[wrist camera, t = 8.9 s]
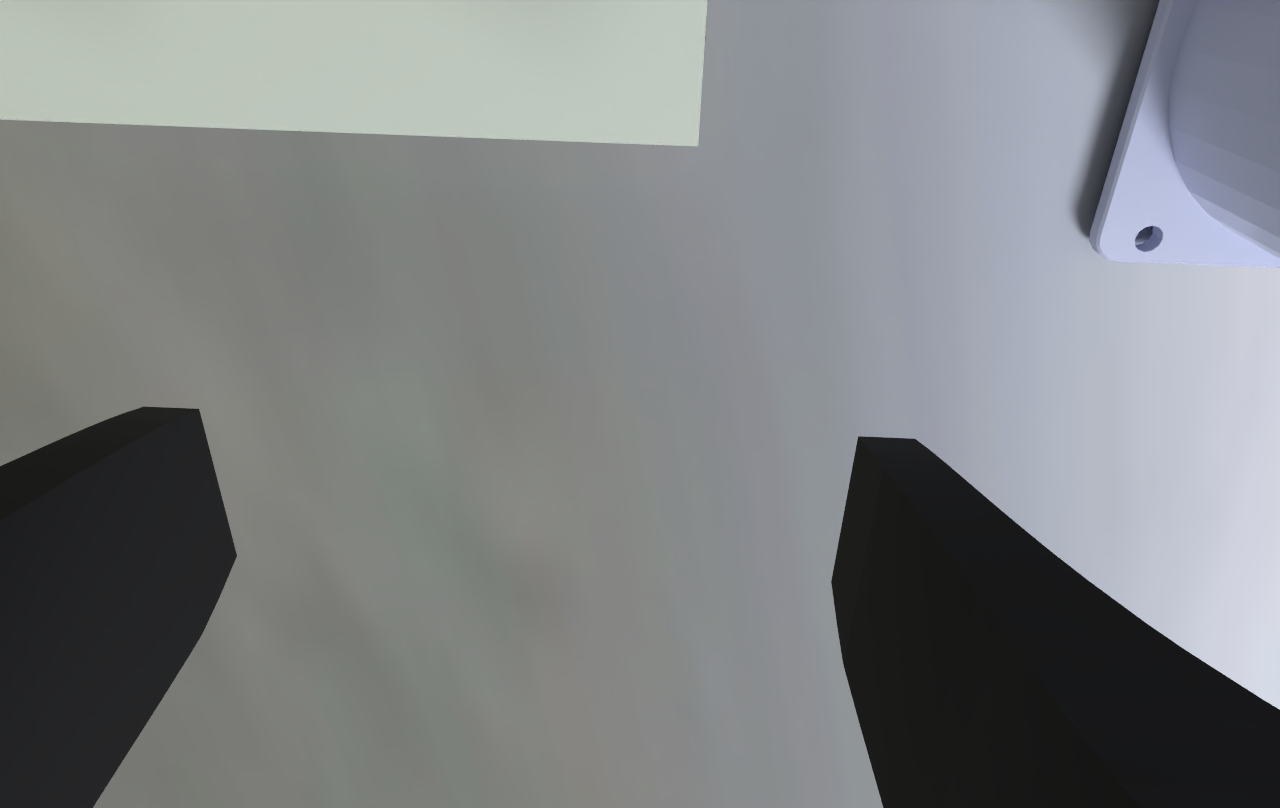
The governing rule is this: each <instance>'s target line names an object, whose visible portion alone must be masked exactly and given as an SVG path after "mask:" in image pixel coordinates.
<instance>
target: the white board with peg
mask: <svg viewBox="0 0 1280 808" xmlns="http://www.w3.org/2000/svg"><path fill="white" fill-rule="evenodd" d="M706 12H707V0H0V119H3V120H29V121H55V122H80V123H106V124H132V125H158V126H184V127H210V128H236V129H262V130H288V131H314V132H340V133H366V134H392V135H418V136H444V137H470V138H496V139H522V140H548V141H574V142H600V143H626V144H652V145H678V146H698V138H699V122H700V106H701V91H702V75H703V59H704V44H705V28H706Z"/></svg>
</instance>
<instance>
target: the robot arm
mask: <svg viewBox="0 0 1280 808" xmlns="http://www.w3.org/2000/svg"><path fill="white" fill-rule="evenodd" d="M1149 226H1153V233H1152V235H1151V236H1150V238H1149V239H1148V240H1147V241H1146V242H1144V243H1143V244H1139V245H1135V238H1136V236H1137V235H1138V233H1139V232H1140V231H1141V230H1142V229H1144V228H1145V227H1149ZM1090 243H1091V246H1092V248H1093V249H1094V250H1095V251H1096V252H1097V253H1099V254H1100V255H1101V256H1102V257H1104V258H1105V259H1108V260H1112V261H1124V262H1149V263H1175V264H1200V265H1225V266H1250V267H1276V268H1280V0H1160V1H1159V5H1158V8H1157V11H1156V15H1155V18H1154V21H1153V25H1152V28H1151V31H1150V35H1149V38H1148V41H1147V45H1146V48H1145V51H1144V55H1143V58H1142V61H1141V65H1140V68H1139V71H1138V75H1137V78H1136V81H1135V85H1134V88H1133V91H1132V95H1131V98H1130V101H1129V105H1128V108H1127V111H1126V115H1125V118H1124V121H1123V124H1122V128H1121V131H1120V134H1119V138H1118V141H1117V144H1116V148H1115V151H1114V154H1113V158H1112V161H1111V164H1110V168H1109V171H1108V174H1107V178H1106V181H1105V184H1104V188H1103V191H1102V194H1101V198H1100V201H1099V204H1098V208H1097V211H1096V214H1095V218H1094V221H1093V224H1092V228H1091V231H1090ZM236 557H237V554H236V551H235V547H234V543H233V539H232V535H231V531H230V527H229V523H228V520H227V516H226V512H225V508H224V504H223V500H222V496H221V492H220V489H219V485H218V481H217V477H216V473H215V469H214V465H213V461H212V458H211V454H210V450H209V446H208V442H207V438H206V434H205V430H204V427H203V423H202V419H201V415H200V411H199V409H186V408H162V407H142V408H139V409H136V410H133V411H129V412H126V413H123V414H121V415H118V416H115V417H113V418H110V419H107V420H105V421H102V422H100V423H97V424H95V425H93V426H90V427H88V428H85V429H83V430H81V431H78V432H76V433H74V434H71V435H69V436H67V437H65V438H62V439H60V440H58V441H56V442H53V443H51V444H49V445H47V446H44V447H42V448H40V449H38V450H35V451H33V452H31V453H29V454H27V455H24V456H22V457H20V458H18V459H16V460H13V461H11V462H9V463H7V464H5V465H2V466H0V808H93V806H94V805H95V803H96V802H97V800H98V798H99V797H100V795H101V794H102V792H103V791H104V789H105V787H106V786H107V784H108V783H109V781H110V780H111V778H112V777H113V775H114V773H115V772H116V770H117V769H118V767H119V766H120V764H121V762H122V761H123V759H124V758H125V756H126V755H127V753H128V751H129V750H130V748H131V747H132V745H133V744H134V742H135V741H136V739H137V737H138V736H139V734H140V733H141V731H142V730H143V728H144V726H145V725H146V723H147V722H148V720H149V719H150V717H151V715H152V714H153V712H154V711H155V709H156V708H157V706H158V705H159V703H160V701H161V700H162V698H163V697H164V695H165V693H166V692H167V690H168V689H169V687H170V685H171V684H172V682H173V681H174V679H175V677H176V676H177V674H178V673H179V671H180V669H181V668H182V666H183V665H184V663H185V661H186V660H187V658H188V657H189V655H190V653H191V652H192V650H193V648H194V647H195V645H196V643H197V642H198V640H199V638H200V637H201V635H202V633H203V631H204V629H205V627H206V625H207V623H208V620H209V618H210V616H211V614H212V612H213V610H214V608H215V606H216V603H217V601H218V599H219V597H220V595H221V592H222V590H223V588H224V585H225V583H226V580H227V578H228V576H229V573H230V571H231V569H232V566H233V564H234V562H235V559H236ZM831 582H832V590H833V597H834V605H835V612H836V619H837V627H838V633H839V640H840V646H841V652H842V659H843V664H844V668H845V672H846V676H847V679H848V683H849V687H850V690H851V694H852V698H853V701H854V705H855V708H856V712H857V716H858V719H859V723H860V727H861V730H862V734H863V737H864V741H865V744H866V748H867V751H868V755H869V758H870V762H871V765H872V769H873V772H874V776H875V779H876V783H877V787H878V790H879V794H880V797H881V801H882V804H883V808H1280V710H1279V709H1277V708H1276V707H1274V706H1272V705H1271V704H1269V703H1267V702H1266V701H1264V700H1262V699H1261V698H1259V697H1258V696H1256V695H1255V694H1253V693H1251V692H1250V691H1248V690H1247V689H1245V688H1244V687H1242V686H1241V685H1239V684H1237V683H1236V682H1234V681H1233V680H1231V679H1230V678H1228V677H1226V676H1225V675H1223V674H1222V673H1220V672H1219V671H1217V670H1216V669H1214V668H1212V667H1211V666H1209V665H1208V664H1206V663H1205V662H1203V661H1201V660H1200V659H1198V658H1197V657H1195V656H1194V655H1192V654H1191V653H1189V652H1187V651H1186V650H1184V649H1183V648H1181V647H1180V646H1178V645H1177V644H1176V643H1174V642H1173V641H1171V640H1170V639H1168V638H1167V637H1165V636H1164V635H1162V634H1161V633H1159V632H1158V631H1157V630H1155V629H1154V628H1152V627H1151V626H1149V625H1148V624H1146V623H1145V622H1144V621H1142V620H1141V619H1140V618H1138V617H1137V616H1136V615H1134V614H1133V613H1131V612H1130V611H1129V610H1127V609H1126V608H1125V607H1123V606H1122V605H1121V604H1119V603H1118V602H1116V601H1115V600H1114V599H1112V598H1111V597H1110V596H1108V595H1107V594H1106V593H1104V592H1103V591H1102V590H1100V589H1099V588H1097V587H1096V586H1095V585H1093V584H1092V583H1091V582H1089V581H1088V580H1087V579H1085V578H1084V577H1083V576H1082V575H1080V574H1079V573H1078V572H1076V571H1075V570H1074V569H1073V568H1071V567H1070V566H1069V565H1067V564H1066V563H1065V562H1064V561H1062V560H1061V559H1060V558H1058V557H1057V556H1056V555H1055V554H1053V553H1052V552H1051V551H1050V550H1048V549H1047V548H1046V547H1045V546H1043V545H1042V544H1041V543H1040V542H1039V541H1037V540H1036V539H1035V538H1034V537H1032V536H1031V535H1030V534H1029V533H1028V532H1026V531H1025V530H1024V529H1023V528H1022V527H1020V526H1019V525H1018V524H1017V523H1015V522H1014V521H1013V520H1012V519H1011V518H1010V517H1008V516H1007V515H1006V514H1005V513H1004V512H1002V511H1001V510H1000V509H999V508H998V507H996V506H995V505H994V504H993V503H992V502H991V501H989V500H988V499H987V498H986V497H985V496H984V495H982V494H981V493H980V492H979V491H978V490H977V489H975V488H974V487H973V486H972V485H971V484H969V483H968V482H967V481H966V480H965V479H964V478H962V477H961V476H960V475H959V474H958V473H957V472H955V471H954V470H953V469H952V468H951V467H950V466H948V465H947V464H946V463H945V462H944V461H942V460H941V459H940V458H939V457H938V456H936V455H935V454H934V453H933V452H931V451H930V450H929V449H928V448H926V447H925V446H924V445H922V444H921V443H920V442H918V441H917V440H916V439H906V438H882V437H858V441H857V446H856V452H855V457H854V462H853V468H852V473H851V479H850V484H849V489H848V495H847V500H846V506H845V511H844V516H843V522H842V527H841V533H840V538H839V543H838V549H837V554H836V560H835V565H834V570H833V576H832V581H831Z"/></svg>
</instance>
